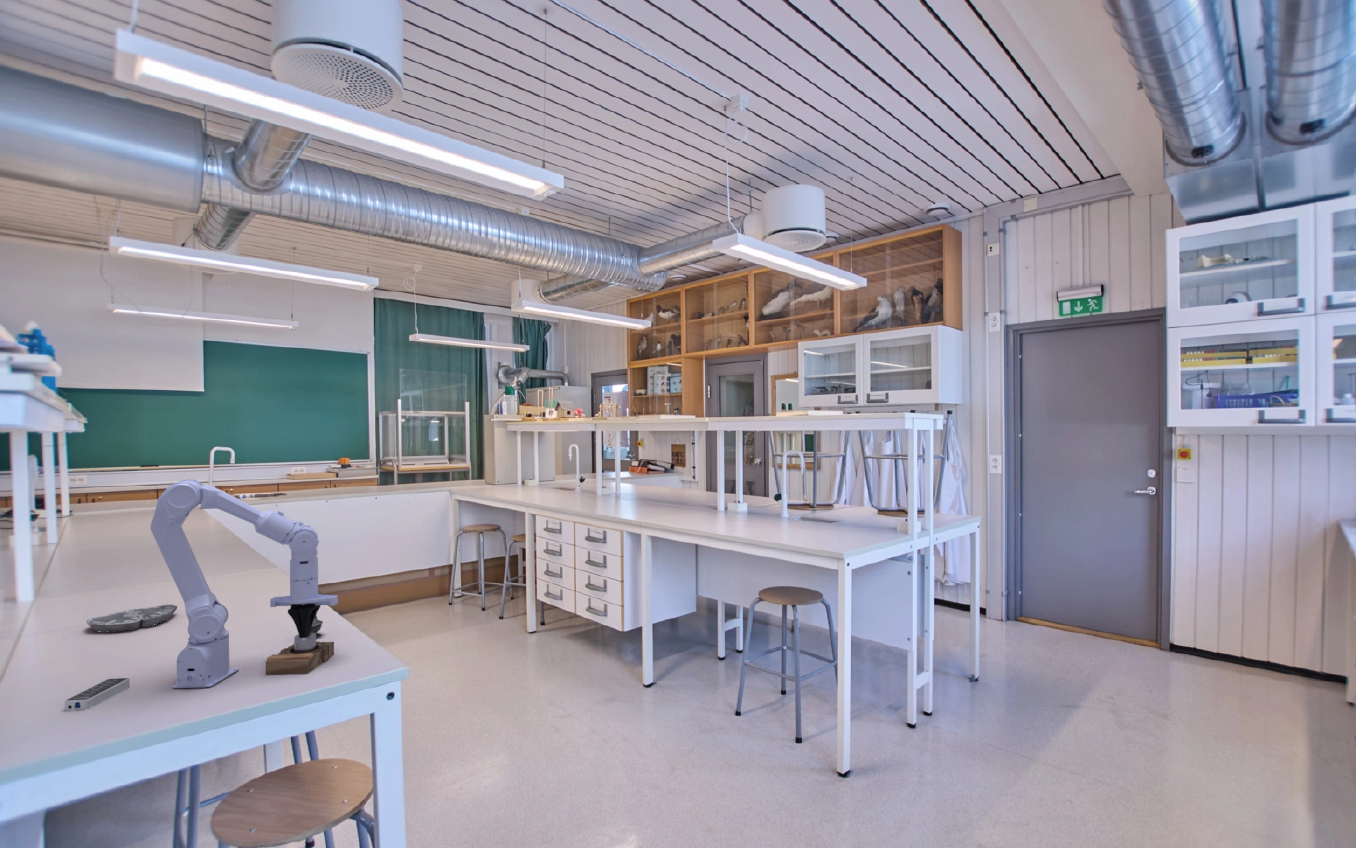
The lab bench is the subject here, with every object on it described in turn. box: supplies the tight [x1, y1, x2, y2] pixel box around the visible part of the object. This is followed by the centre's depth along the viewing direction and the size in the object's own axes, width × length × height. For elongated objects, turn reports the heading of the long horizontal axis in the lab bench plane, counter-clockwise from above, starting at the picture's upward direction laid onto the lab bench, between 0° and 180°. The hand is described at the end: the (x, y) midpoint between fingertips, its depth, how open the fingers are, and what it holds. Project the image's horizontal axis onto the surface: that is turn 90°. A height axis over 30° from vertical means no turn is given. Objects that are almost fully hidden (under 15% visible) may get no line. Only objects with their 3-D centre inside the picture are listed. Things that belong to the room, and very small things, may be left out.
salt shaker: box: [310, 615, 324, 640], centre depth 164 cm, size 6×6×12 cm
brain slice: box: [86, 604, 178, 633], centre depth 176 cm, size 20×17×3 cm
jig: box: [265, 640, 335, 676], centre depth 145 cm, size 12×10×4 cm
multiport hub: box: [64, 677, 131, 711], centre depth 128 cm, size 4×11×2 cm, turn 6°
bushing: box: [293, 633, 317, 654], centre depth 147 cm, size 4×4×6 cm
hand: (304, 636), depth 147 cm, fingers closed
